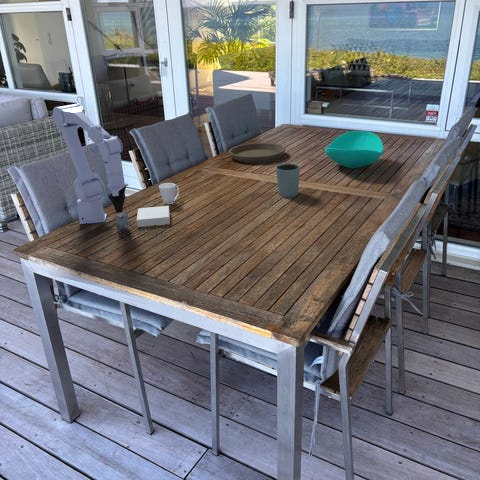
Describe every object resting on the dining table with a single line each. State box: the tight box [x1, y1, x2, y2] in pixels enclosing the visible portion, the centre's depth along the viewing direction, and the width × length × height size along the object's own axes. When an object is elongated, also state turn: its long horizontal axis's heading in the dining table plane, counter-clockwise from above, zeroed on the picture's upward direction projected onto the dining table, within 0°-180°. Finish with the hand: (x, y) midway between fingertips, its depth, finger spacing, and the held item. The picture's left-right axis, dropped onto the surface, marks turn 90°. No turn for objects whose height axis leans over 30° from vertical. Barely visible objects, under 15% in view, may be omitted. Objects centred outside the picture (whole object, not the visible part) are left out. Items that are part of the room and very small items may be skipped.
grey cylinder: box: [114, 212, 131, 234], centre depth 176 cm, size 4×4×6 cm
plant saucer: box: [228, 142, 286, 164], centre depth 262 cm, size 31×31×5 cm
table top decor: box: [324, 130, 384, 169], centre depth 236 cm, size 40×28×13 cm
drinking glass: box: [275, 163, 301, 198], centre depth 204 cm, size 10×10×12 cm
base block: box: [136, 205, 171, 228], centre depth 185 cm, size 12×12×3 cm
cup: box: [158, 182, 180, 205], centre depth 201 cm, size 7×10×8 cm
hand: (120, 208), depth 173 cm, fingers open, 7 cm apart
